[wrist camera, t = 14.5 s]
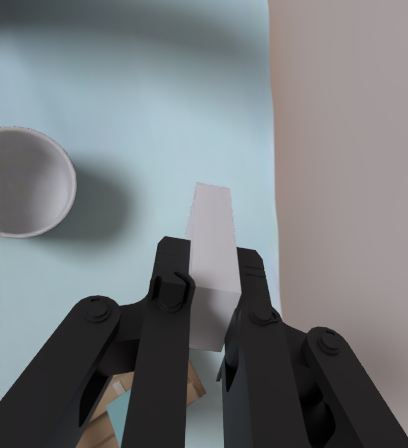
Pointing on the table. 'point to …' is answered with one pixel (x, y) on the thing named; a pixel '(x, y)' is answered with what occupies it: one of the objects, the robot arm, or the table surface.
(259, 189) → the table surface
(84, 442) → the beam
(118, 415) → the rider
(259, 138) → the table surface
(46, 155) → the teacup
